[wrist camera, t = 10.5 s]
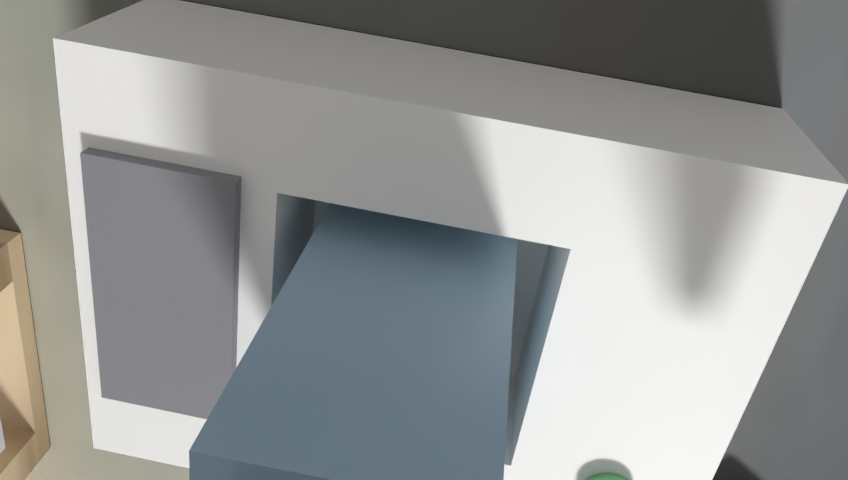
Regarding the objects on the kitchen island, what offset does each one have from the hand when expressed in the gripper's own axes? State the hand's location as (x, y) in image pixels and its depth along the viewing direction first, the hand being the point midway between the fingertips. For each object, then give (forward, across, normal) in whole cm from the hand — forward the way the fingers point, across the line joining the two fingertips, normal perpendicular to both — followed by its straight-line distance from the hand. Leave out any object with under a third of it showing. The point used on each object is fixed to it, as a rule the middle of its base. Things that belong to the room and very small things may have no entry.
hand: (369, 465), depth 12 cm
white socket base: (+8, 0, 0) cm, 8 cm away
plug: (+7, 0, 0) cm, 7 cm away
